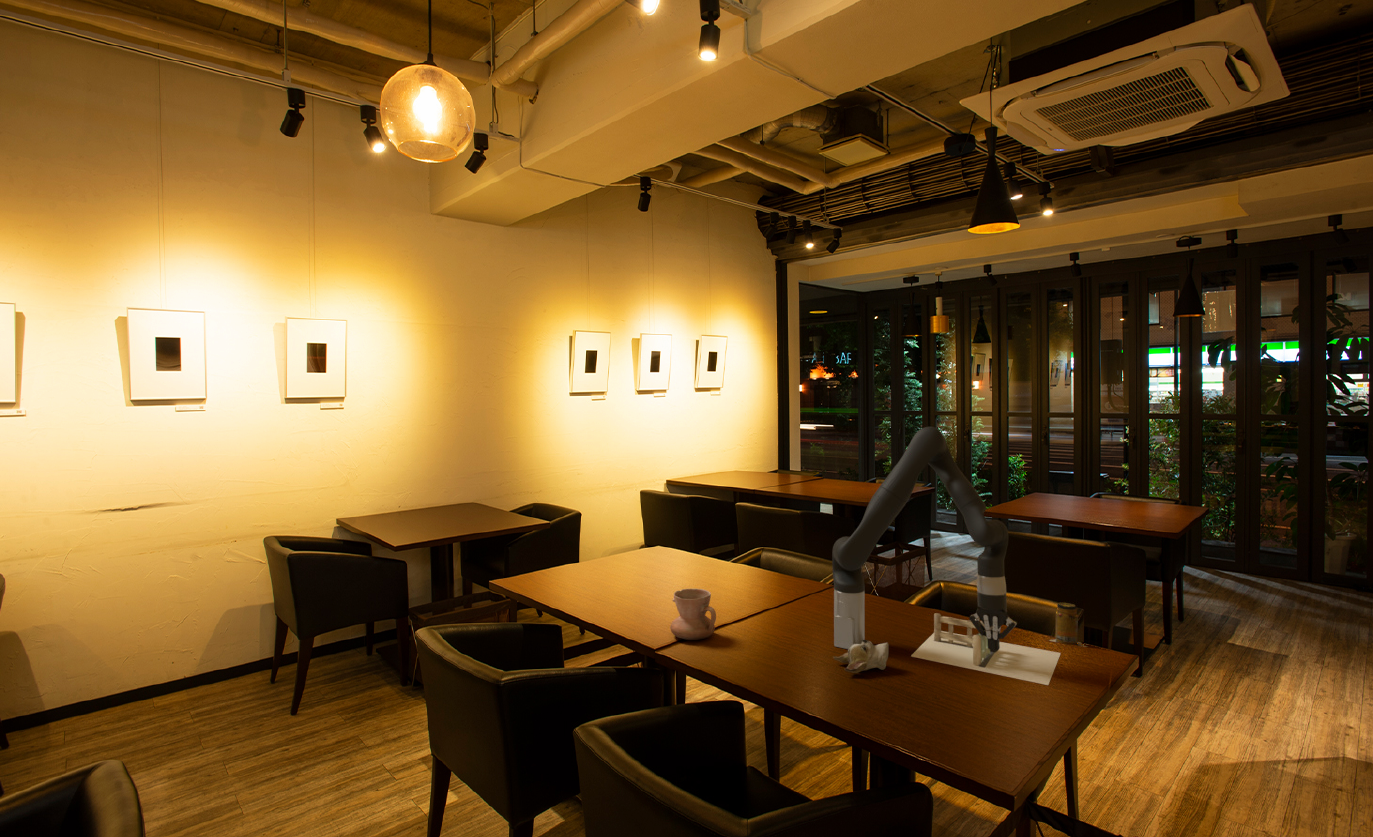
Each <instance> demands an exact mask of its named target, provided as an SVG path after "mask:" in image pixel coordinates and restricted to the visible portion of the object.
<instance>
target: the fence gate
mask: <svg viewBox="0 0 1373 837" xmlns="http://www.w3.org/2000/svg"><path fill="white" fill-rule="evenodd" d="M972 637H973V664H975V665H981V661H982V658H986V655H989V654H990V649H988V640H987V637H986V636H984V635H981V634H980V633H979V632H978V633H977V634H972Z"/></svg>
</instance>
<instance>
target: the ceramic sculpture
mask: <svg viewBox="0 0 1373 837" xmlns="http://www.w3.org/2000/svg"><path fill="white" fill-rule="evenodd" d="M832 659H834V660H835V661H838V662H840V663H843V664H848V665H847V666H846V667H845V668H844V671H845V672H848V673H855V674H857V673H861V672H864V671H868V670H870V669H875V668H878V669H879V670H881V671H882V670H883V671H884V670H885V669H886V667H887V661H888V659H889V642H883V643H879V644H876V645H874V644H873V643H872V641H870V640H867V639H864V640H863V641H862V643H857V644H853V645H852V646H851V647H850V648H849V649H847V652H845V653H843V654H841V655H840V656H832Z"/></svg>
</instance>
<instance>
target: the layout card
mask: <svg viewBox="0 0 1373 837" xmlns="http://www.w3.org/2000/svg"><path fill="white" fill-rule="evenodd" d="M941 632H945V633H948V631H943V630H941ZM953 634H955V635H961V636H966V637H967V635H964V634H958V633H954V632H953ZM972 638H973V636H972ZM999 643H1000V644H999V645H1000V648H999V650H998V651H997V652H996V653H995V652H990V654H989V655H986V658H982V661H981V665H975V664H973V644H972V647H967V643H964V642H959V641H953V644H950V643H948V639H943V638H941V641H940V642H936V641H934V632H933V633H932V634H931V635H930V636H929V637H927V639H926V640H925V641H924V642H923V643H922V644H921V645H920V646H919V647H918V648H917V649H916V650H915V651H914V652H913V653H912V654H911V656H910V657H912V658H918V659H922V660H926V661H931V662H936V663H941V664H945V665H950V666H954V667H960V668H963V669H964V668H965V669H969V670H974V671H979V672H984V673H987V674H992V675H999V676H1002V677H1007V678H1012V679H1017V680H1021V681H1026V682H1030V683H1036V684H1041V685H1045V686H1049V684H1050V681H1051V679H1052V677H1053V674H1054V671H1055V669H1056V666H1057V664H1058V662H1059V659H1060V656H1061V652H1057V651H1052V650H1051V651H1050V650H1048V649H1041V648H1035V647H1031V646H1024V645H1019V644H1014V643H1008V642H1002V641H999Z"/></svg>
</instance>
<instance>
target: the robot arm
mask: <svg viewBox="0 0 1373 837" xmlns="http://www.w3.org/2000/svg"><path fill="white" fill-rule="evenodd" d="M927 465H929V466H930V467H931V468H932V470H934V472H935V473H936V475H937V476H938V477H939V479H940V481H941V482H942V484H943V485H944V487H945V489H946V491H947V492H948V494H949V496H950V498H951V500H952V501H953V504H955V506H956V508H957V509H958V510H959V511H960V513H961V515H962V516H963V520H964V523H965V525H966V526H965V527H966V528H967V531H968V533H969V536H970V538H971V539H972V541H973V542H974V543H975V544H976V545H978V546H980V547H984V549H983V551H982V553H980V554H979V555H978V557H977V559H976V560H977V565H976V566H977V579H976V591H977V592H976V595H977V609H976V612H975V613H973V614H971V615H969V618H968V620H970V621H971V622H972V623H973V625H974V626H975V627H976V628H975V629H976V630H977V631H978V633H980V634H981V635H984V636H986V637H987V640H988V649H990V652H995V653H996V652H997V651H998V650H999V648H1000V645H999V644H1000V643H999V642H1000V639H1002V640H1003V639H1005V638H1006V637H1007V635H1009V634H1010V632H1011V631H1012V630H1013V629H1014V628H1015V627H1016V626H1017V624H1018V621H1016V620H1013V619H1012V618H1010V615H1009V612H1008V610H1007V609H1008V608H1007V607H1008V605H1007V604H1008V602H1007V584H1006V583H1007V582H1006V577H1005V575H1006V574H1005V558H1006V554H1007V549H1008V546H1009V531H1008V527H1007V526H1006V524H1005V523H1003V521H1000V520H999V519H989V520H987V519H986V517H985V515H984V513H985V512H986V510H987V505H986V503H985V502H984V500H983V499H982V498H981V496H980V495H979V493H978V492H977V490H976V488H975V487H974V486H973V484H972V483H971V482H970V480H969V479H968V478H967V477H966V476H965V475H964V473H963V472H962V470H960V468H959V467H958V465H957V464H956V461H955V460H954V458H953V456H952V454H951V451H950V449H949V446H948V443H947V440H946V437H945V436H944V435H943V433H942V432H941V431H940V430H939V429H938V428H937V427H935V426H926V427H922V428H920V429H919V430H918V431H917V432H916V433H915V434H914V436H913V437H912V439H911V440H910V443H909V444H908V446H907V448H906V449H905V451H904V453H903V455H901V458H900V459H899V461H898V462H897V463H896V465H894V467H893V469H892V470H890V472H889V474H887V476H886V478H885V479H884V481H882V483H881V484H880V485H879V487H878V488H877V490H876V491H875V493H874V494H873V495H872V496H871V499H870V500H869V501H868V505H867V507H866V509H865V512H864V515H863V517H862V520H861V521H860V523H859V525H858V526H857V528H856V529H855V530H854V532H853V533H852V534H851V535H850V536H841V537H840V538H838V539H837V540H836V541H835V542H834V544H833V546H832V551H831V552H832V556H831V557H832V580H833V590H834V591H833V628H834V629H833V638H834V639H833V645H834V647H837V648H841V649H846V650H849V648H850V647H851V646H852V645H853V644H857V643H862V641H863V640H865V580H864V576H863V566H864V565H865V563H867V560H868V559H869V557H870V555H871V553H872V552H873V550H874V548H875V546H876V545H877V543H878V542H879V540H880V538H882V536H883V534H884V533H885V532H886V531H887V529H888V528H889V527H890V526H891V524H892V522H894V521H895V519H896V518H897V516H898V515H899V514H900V512H901V511H902V510H903V508H904V507H905V506H906V504H907V502H908V501H909V500H910V498H911V495H912V493H913V492H914V491H913V490H914V489H915V486H916V483H917V481H918V478H919V476H920V474H921V473H922V471H923V470H924V468H925V467H926V466H927ZM980 621H982V622H983V623H984V624H985V627H984V626H983V625H982V623H981V622H980ZM1004 624H1005V625H1006V628H1005V629H1003V631H1001V629H1002V626H1003V625H1004Z"/></svg>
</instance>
